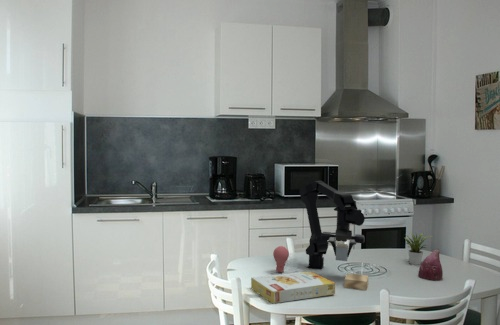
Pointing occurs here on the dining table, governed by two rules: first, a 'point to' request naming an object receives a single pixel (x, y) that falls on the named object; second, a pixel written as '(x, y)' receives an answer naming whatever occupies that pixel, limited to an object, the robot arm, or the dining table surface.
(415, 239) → the house plant
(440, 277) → the vegetable
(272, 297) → the cereal box
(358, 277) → the block
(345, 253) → the grey box
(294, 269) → the dining table surface
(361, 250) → the dining table surface
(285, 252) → the light bulb
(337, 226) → the robot arm
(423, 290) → the dining table surface
